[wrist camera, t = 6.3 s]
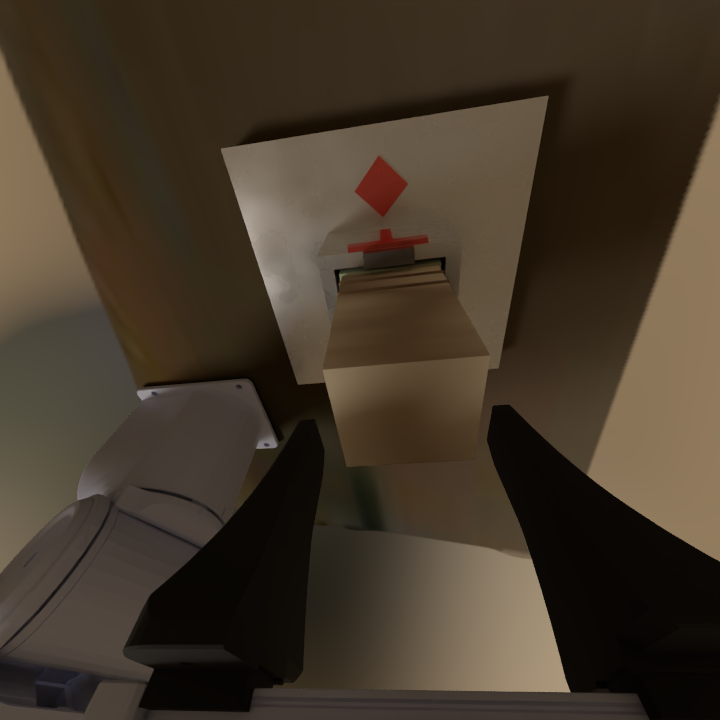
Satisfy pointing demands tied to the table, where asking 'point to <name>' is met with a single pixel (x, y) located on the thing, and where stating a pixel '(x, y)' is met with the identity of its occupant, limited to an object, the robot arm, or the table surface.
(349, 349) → the post
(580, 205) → the table surface
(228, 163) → the jack base
